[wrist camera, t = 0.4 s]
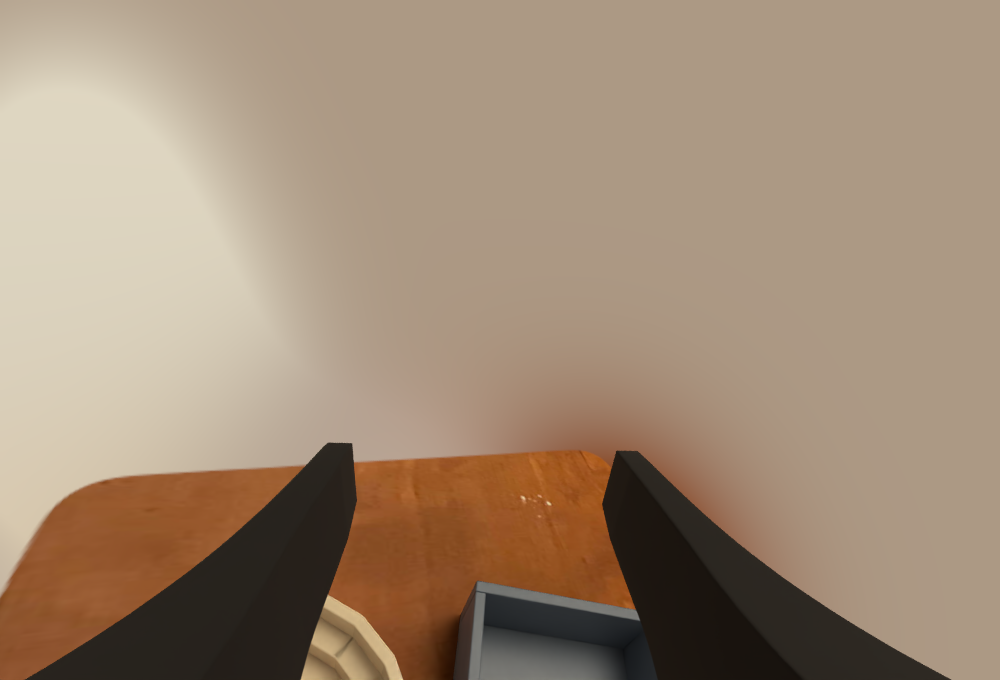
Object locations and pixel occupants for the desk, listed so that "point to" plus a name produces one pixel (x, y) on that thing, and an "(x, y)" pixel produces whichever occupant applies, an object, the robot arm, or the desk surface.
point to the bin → (548, 638)
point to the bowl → (348, 648)
